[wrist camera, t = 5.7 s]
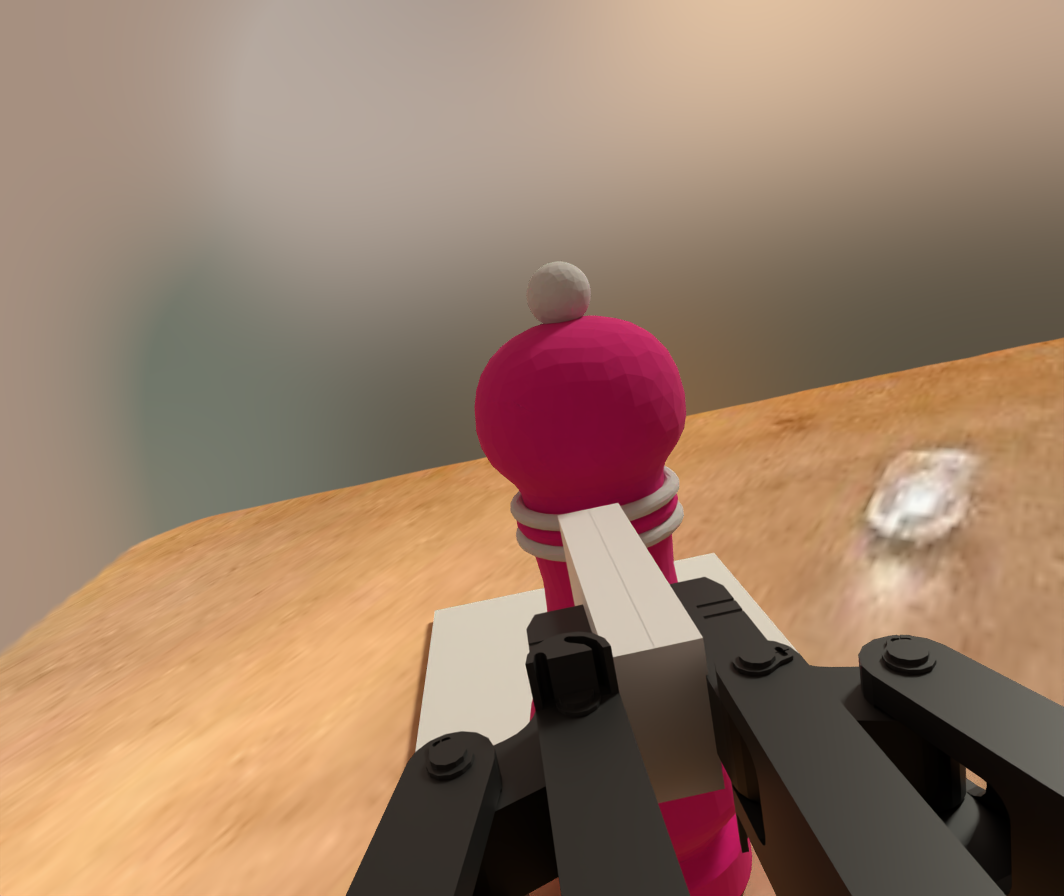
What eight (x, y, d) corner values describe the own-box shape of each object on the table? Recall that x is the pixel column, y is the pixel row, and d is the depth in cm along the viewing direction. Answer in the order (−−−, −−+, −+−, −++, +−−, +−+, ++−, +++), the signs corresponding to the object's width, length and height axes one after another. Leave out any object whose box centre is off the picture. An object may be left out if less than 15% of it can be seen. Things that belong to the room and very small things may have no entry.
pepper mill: (817, 891, 22) (744, 224, 17) (606, 1000, 20) (454, 280, 15) (693, 755, 28) (615, 250, 24) (526, 825, 26) (403, 291, 22)
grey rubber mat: (839, 712, 29) (838, 699, 29) (413, 803, 29) (409, 790, 29) (715, 561, 45) (713, 552, 44) (437, 619, 44) (434, 610, 44)
